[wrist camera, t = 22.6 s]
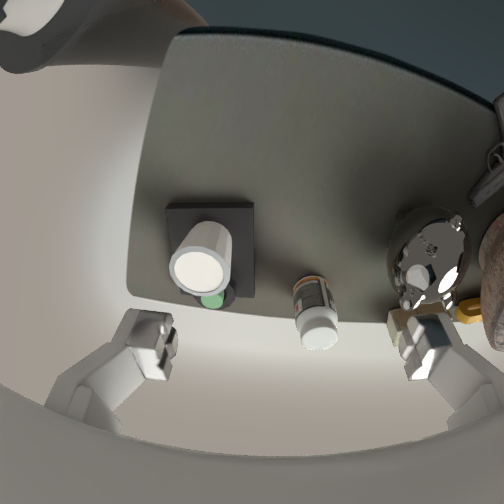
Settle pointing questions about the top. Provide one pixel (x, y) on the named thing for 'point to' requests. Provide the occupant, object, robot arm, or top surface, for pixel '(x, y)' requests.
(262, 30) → the top surface
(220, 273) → the shot glass
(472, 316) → the bracket
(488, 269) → the ceramic pot
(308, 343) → the pill bottle
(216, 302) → the button
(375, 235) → the top surface
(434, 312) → the box
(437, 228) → the piggy bank
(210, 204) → the grey push button base
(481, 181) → the handgun
